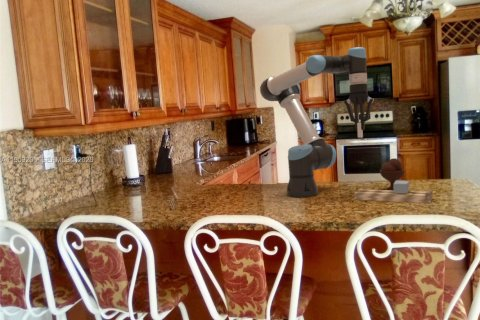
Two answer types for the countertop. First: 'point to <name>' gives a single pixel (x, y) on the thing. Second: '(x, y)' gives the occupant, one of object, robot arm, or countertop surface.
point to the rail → (394, 196)
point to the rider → (401, 187)
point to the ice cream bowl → (392, 172)
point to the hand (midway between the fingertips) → (360, 137)
